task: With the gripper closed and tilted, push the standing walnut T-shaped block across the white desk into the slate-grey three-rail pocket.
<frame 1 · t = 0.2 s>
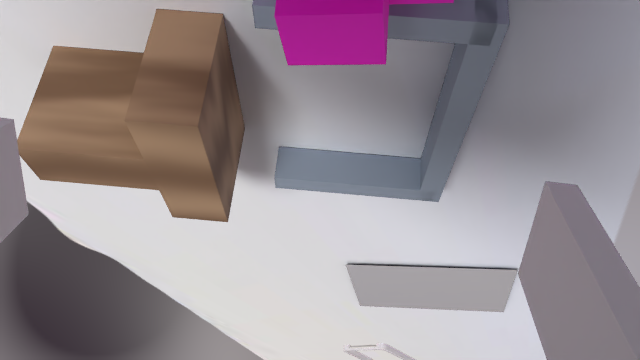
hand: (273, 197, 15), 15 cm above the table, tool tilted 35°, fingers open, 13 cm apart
t block: (153, 72, 37), on the table
pocket: (368, 89, 37), on the table
paper stack: (394, 294, 72), on the table
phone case: (386, 351, 98), on the table
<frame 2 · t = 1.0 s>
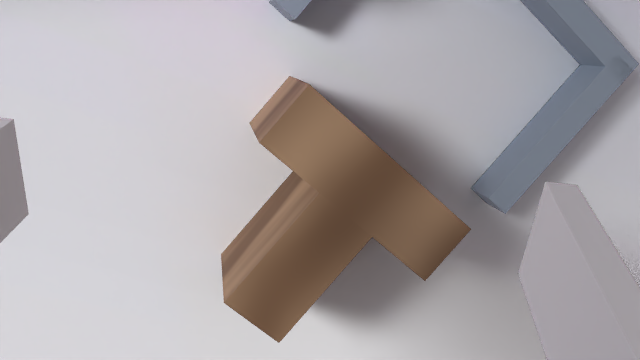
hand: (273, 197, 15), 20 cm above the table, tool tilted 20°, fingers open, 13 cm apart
t block: (304, 202, 36), on the table
pocket: (450, 34, 36), on the table
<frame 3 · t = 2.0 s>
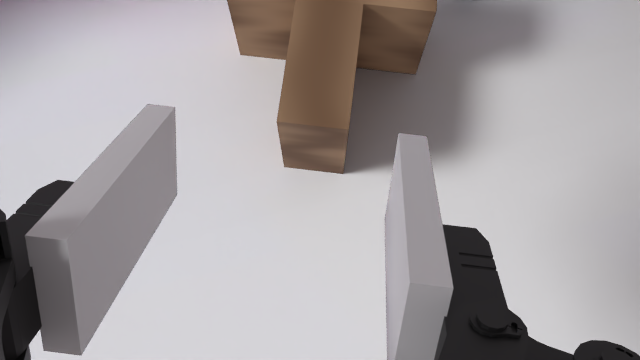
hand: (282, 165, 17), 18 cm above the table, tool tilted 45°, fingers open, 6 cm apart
t block: (324, 86, 38), on the table
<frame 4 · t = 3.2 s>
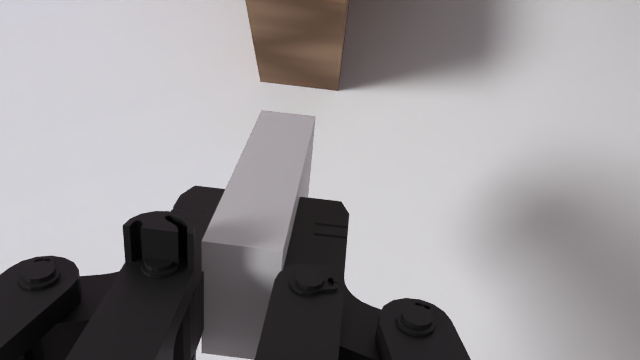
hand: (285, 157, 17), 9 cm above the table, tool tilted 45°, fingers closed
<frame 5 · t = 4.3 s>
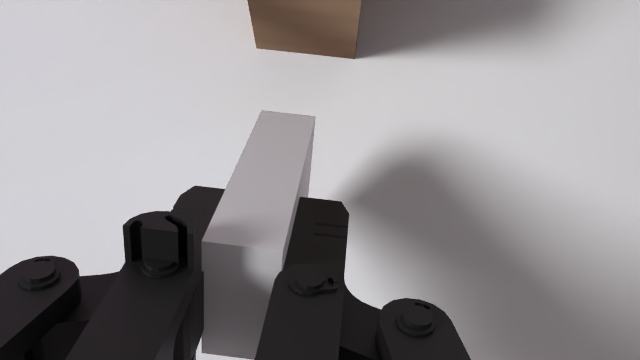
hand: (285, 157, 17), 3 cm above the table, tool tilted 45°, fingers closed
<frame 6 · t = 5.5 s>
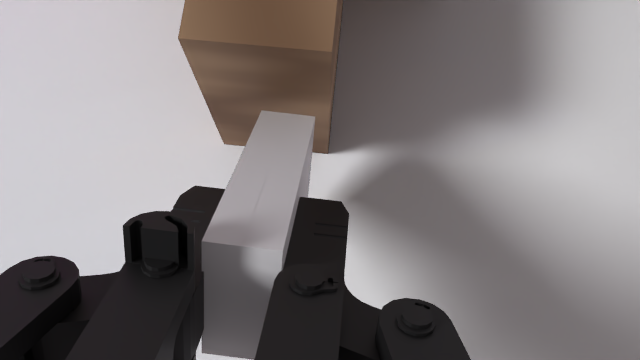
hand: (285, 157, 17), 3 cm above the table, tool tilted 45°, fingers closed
t block: (293, 5, 22), on the table, touching gripper
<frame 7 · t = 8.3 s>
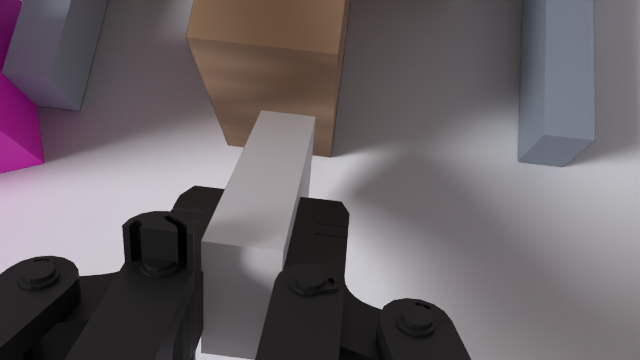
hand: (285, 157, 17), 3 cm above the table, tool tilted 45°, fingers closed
t block: (300, 9, 22), on the table, touching gripper
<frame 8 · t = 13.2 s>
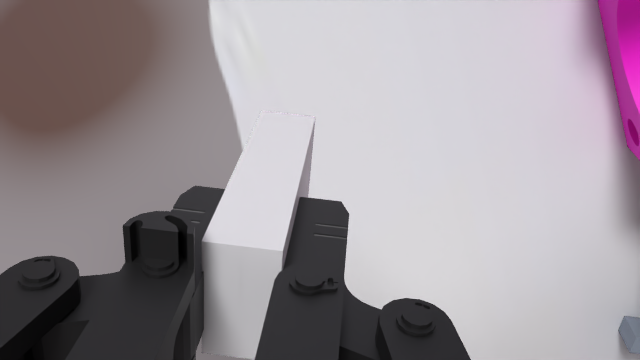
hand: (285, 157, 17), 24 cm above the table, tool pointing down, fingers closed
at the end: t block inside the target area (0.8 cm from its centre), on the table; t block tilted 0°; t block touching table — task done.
